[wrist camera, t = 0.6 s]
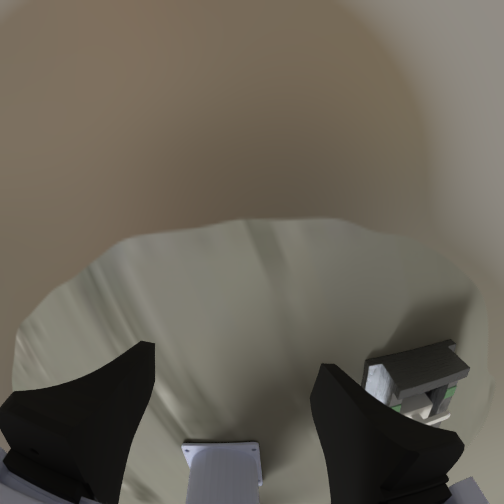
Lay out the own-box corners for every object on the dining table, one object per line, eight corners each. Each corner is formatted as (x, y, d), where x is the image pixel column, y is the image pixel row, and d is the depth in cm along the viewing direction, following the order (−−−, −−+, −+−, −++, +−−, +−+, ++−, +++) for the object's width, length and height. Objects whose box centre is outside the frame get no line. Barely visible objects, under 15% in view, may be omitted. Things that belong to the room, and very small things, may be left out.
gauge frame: (425, 418, 27) (443, 444, 22) (350, 439, 26) (362, 472, 22) (451, 339, 24) (478, 364, 19) (365, 360, 24) (387, 394, 19)
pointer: (431, 402, 24) (446, 422, 21) (373, 419, 24) (385, 444, 21) (436, 388, 24) (452, 408, 20) (376, 406, 24) (389, 431, 20)
